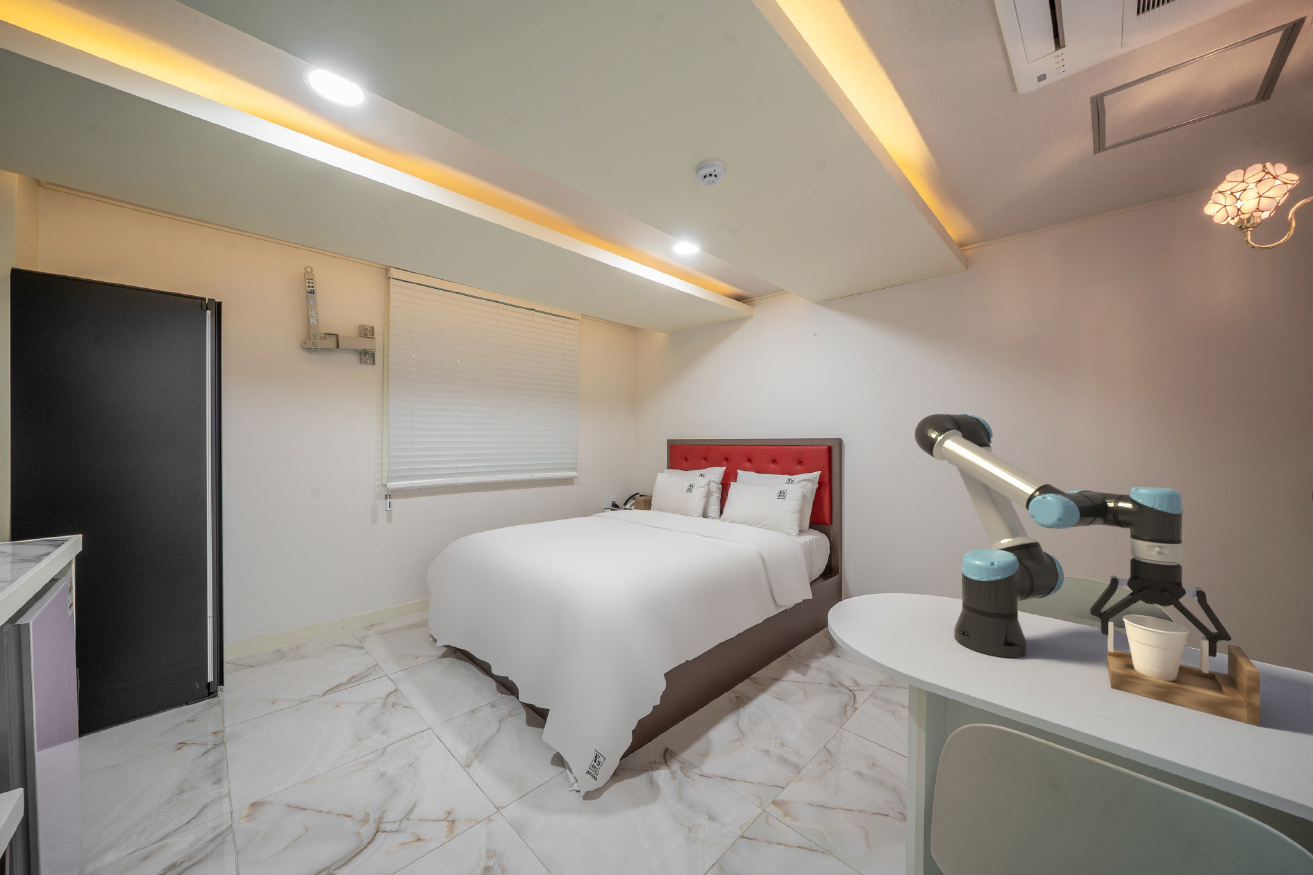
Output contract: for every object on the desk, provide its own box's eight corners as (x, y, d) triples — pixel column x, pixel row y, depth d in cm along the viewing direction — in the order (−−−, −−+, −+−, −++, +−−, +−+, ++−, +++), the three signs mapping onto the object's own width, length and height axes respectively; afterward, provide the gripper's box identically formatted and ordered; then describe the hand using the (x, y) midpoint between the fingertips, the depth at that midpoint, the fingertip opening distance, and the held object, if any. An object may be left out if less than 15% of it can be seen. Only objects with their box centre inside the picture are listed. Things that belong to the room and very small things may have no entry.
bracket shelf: (1111, 687, 98) (1111, 640, 98) (1107, 663, 108) (1107, 621, 108) (1259, 726, 85) (1259, 672, 85) (1239, 694, 95) (1239, 646, 95)
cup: (1205, 689, 93) (1205, 635, 93) (1146, 684, 95) (1146, 630, 95) (1162, 665, 102) (1162, 616, 102) (1109, 661, 104) (1109, 612, 104)
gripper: (1076, 553, 104) (1076, 647, 104) (1254, 576, 87) (1254, 688, 87) (1076, 547, 110) (1076, 636, 110) (1243, 567, 93) (1243, 673, 93)
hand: (1155, 659), depth 99 cm, fingers open, 13 cm apart
